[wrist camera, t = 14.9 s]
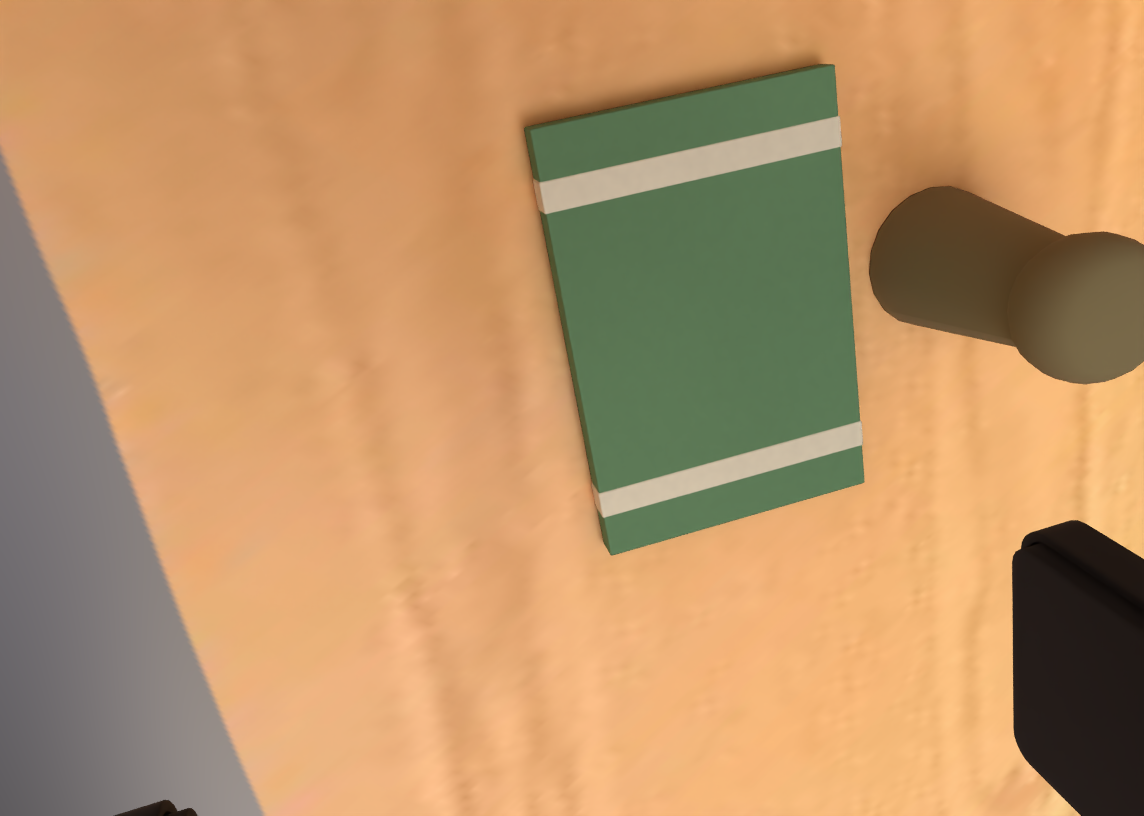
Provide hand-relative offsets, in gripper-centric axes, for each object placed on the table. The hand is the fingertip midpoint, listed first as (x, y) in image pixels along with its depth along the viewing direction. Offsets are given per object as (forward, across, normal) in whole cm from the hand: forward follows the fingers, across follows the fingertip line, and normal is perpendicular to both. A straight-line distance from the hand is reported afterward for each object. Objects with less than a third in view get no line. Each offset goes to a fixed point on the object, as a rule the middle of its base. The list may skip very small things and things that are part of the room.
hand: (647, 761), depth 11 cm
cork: (+28, -22, +5) cm, 36 cm away
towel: (+28, -11, +5) cm, 31 cm away
